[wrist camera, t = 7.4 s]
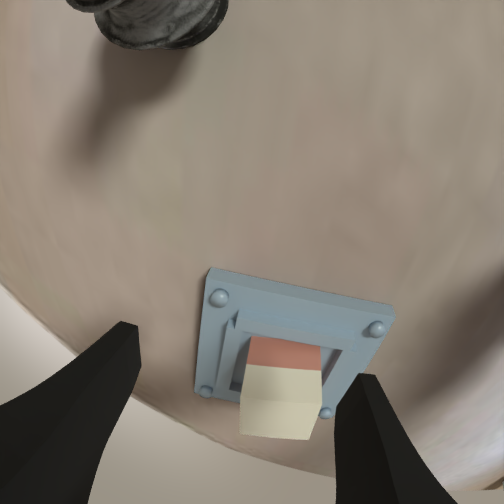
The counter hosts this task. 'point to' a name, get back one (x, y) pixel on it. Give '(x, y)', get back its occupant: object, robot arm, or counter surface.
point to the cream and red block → (281, 389)
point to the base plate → (284, 332)
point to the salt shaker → (155, 21)
